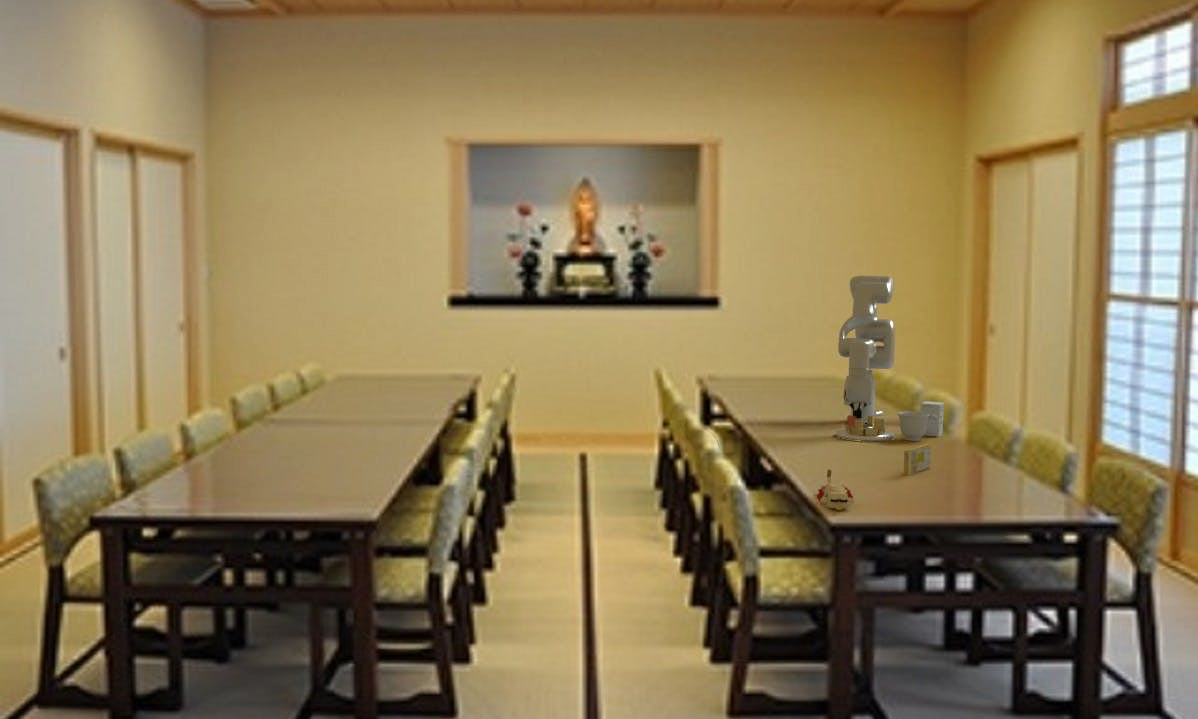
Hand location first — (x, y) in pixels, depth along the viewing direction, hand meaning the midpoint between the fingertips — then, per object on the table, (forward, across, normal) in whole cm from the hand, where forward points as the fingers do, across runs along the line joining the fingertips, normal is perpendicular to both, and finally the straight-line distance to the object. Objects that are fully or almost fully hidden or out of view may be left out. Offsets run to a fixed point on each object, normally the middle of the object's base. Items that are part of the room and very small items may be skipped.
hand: (857, 420), depth 479 cm
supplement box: (+6, -29, +2) cm, 30 cm away
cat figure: (+6, +49, +118) cm, 128 cm away
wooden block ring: (+4, -1, +5) cm, 7 cm away
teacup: (+6, -19, +13) cm, 24 cm away
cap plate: (+6, -1, +5) cm, 8 cm away
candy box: (+6, +6, +74) cm, 74 cm away
